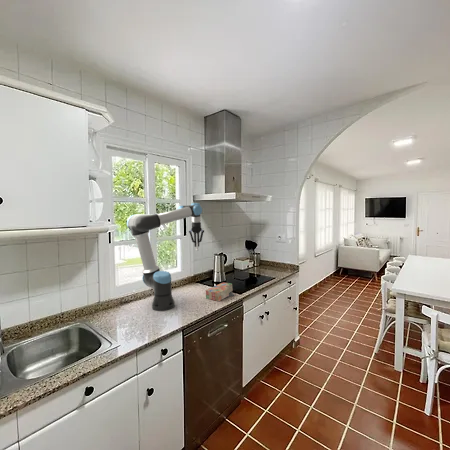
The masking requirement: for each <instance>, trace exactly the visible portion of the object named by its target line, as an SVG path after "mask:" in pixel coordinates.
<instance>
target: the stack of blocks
mask: <svg viewBox="0 0 450 450" xmlns="http://www.w3.org/2000/svg"><path fill="white" fill-rule="evenodd" d="M230 292H232V293H233V283H230V282H221V283H219V284H217V285H215V286H212V287H211V288H207V289H205V298H206V299H207V300H211V301H216V302H221V301H222V300H224V299H227V298H228V297H227V296H229V293H230Z"/></svg>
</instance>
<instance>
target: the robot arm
mask: <svg viewBox="0 0 450 450" xmlns="http://www.w3.org/2000/svg"><path fill="white" fill-rule="evenodd" d="M202 213H203V207H202V206H201V203H199V202H192V203H190V205H179V206H178V207H177V209H174V210H169V211H165V212H162V213H156V212H155V213H152V214H151V213H150V214H146V213H145V214H143V213H141V214H139V213H137V214H136V213H135V214H132V215H130V216H129V217H128V219H127V221H126V226H127V228H128V229H129V230H130V233H131V236H132V237H133V238H135V241H136V245H137V248H138V252H139V256H140V259H141V262H142V266H143V270H142V282H143V284H145V285H146V286H147V287H149V288H152V289H153V295H154V296H153V300H152V302H151V308H152V310H154V311H160V312H161V311H168V310H171V309H173V308H174V307H175V305H176V303H175V299H174V296H173V295H172V294H173V293H172V274H171V272H169V271H166V270H161V269H160V266H158V265H157V264H156V259H155V256H154V251H153V250H152V249H153V248H152V245H151V241H150V238H149V233H150V231H151V230H154V229H158V228H160V227H161V226H162V225H166V224H169V223H172V222H173V223H174V222H175V221H180V220H183V219H187V218H190V217H191V219H190V220H191V229H190V230H188V233H189V235H190V239H191V242H192V243H194V247H195V251H196V252H198V251H199V247H200V243H201V242H203V241H202V240H203V236H204V233H205V230H204V229H202V222H201V220H202V219H201V214H202Z"/></svg>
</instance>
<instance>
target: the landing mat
mask: <svg viewBox="0 0 450 450" xmlns="http://www.w3.org/2000/svg"><path fill="white" fill-rule="evenodd" d="M228 297H229V298H230V297H235V294H234V293H233V291H232V292H230V293H229V296H227V297H226V298H228Z"/></svg>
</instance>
